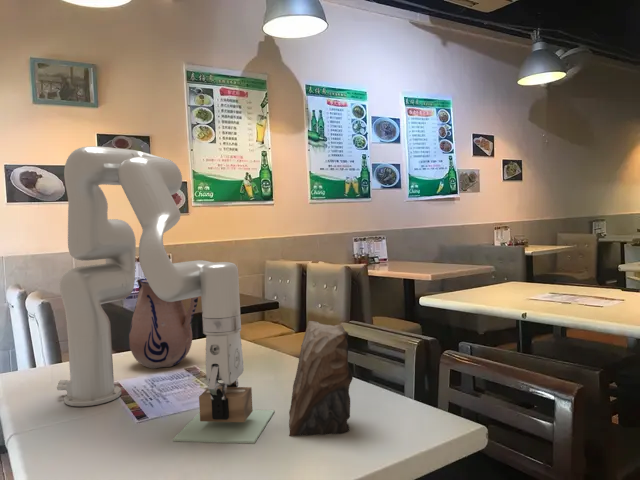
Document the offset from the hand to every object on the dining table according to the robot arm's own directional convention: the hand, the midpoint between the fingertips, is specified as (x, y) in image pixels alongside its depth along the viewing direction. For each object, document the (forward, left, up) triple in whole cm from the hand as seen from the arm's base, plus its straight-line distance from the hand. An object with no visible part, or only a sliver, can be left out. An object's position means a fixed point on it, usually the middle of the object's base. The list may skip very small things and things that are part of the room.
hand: (226, 411), depth 112 cm
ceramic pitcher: (-32, +44, -3) cm, 54 cm away
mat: (0, 0, -3) cm, 3 cm away
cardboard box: (0, 0, -1) cm, 1 cm away
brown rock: (+18, +1, -3) cm, 18 cm away
